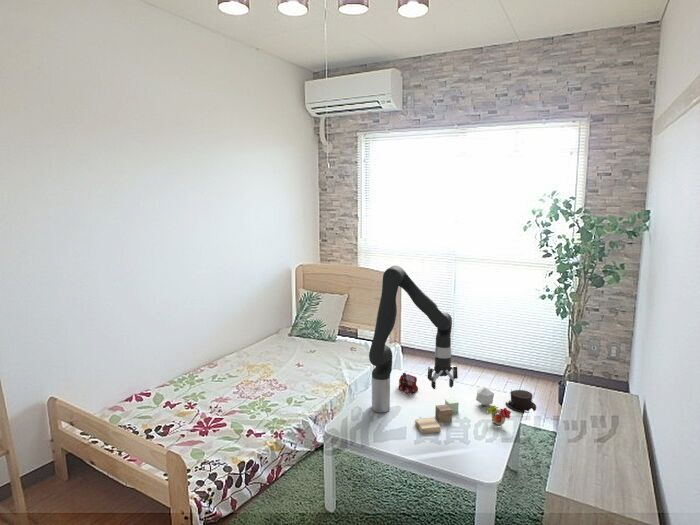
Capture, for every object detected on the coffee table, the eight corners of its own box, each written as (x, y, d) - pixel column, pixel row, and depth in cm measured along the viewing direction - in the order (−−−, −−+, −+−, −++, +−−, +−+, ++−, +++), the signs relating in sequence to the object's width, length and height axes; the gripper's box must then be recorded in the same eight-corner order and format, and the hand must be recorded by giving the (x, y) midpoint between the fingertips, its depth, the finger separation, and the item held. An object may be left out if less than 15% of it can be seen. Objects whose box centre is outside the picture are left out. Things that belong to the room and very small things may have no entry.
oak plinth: (415, 424, 217) (415, 419, 217) (432, 422, 219) (433, 417, 219) (422, 433, 208) (422, 428, 208) (440, 431, 210) (440, 426, 210)
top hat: (521, 398, 246) (522, 380, 245) (542, 410, 232) (543, 390, 231) (499, 403, 241) (500, 384, 239) (519, 415, 227) (520, 395, 225)
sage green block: (444, 408, 234) (445, 399, 233) (453, 407, 235) (454, 398, 234) (449, 413, 229) (449, 403, 228) (458, 412, 230) (458, 402, 230)
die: (496, 407, 235) (497, 389, 234) (482, 410, 232) (483, 391, 230) (486, 401, 243) (487, 383, 241) (472, 403, 239) (473, 385, 238)
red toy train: (404, 386, 262) (404, 369, 261) (420, 393, 253) (420, 375, 251) (395, 389, 258) (395, 372, 257) (411, 396, 248) (411, 378, 247)
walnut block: (435, 417, 225) (435, 405, 224) (446, 415, 226) (446, 404, 225) (440, 422, 219) (440, 410, 218) (451, 421, 220) (452, 409, 220)
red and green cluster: (491, 418, 223) (492, 400, 222) (513, 426, 215) (514, 407, 214) (485, 422, 219) (485, 404, 218) (506, 430, 211) (507, 412, 210)
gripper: (453, 351, 221) (453, 383, 223) (425, 353, 218) (425, 385, 220) (460, 356, 213) (459, 389, 215) (431, 358, 211) (431, 392, 213)
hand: (442, 387), depth 218 cm, fingers open, 8 cm apart
